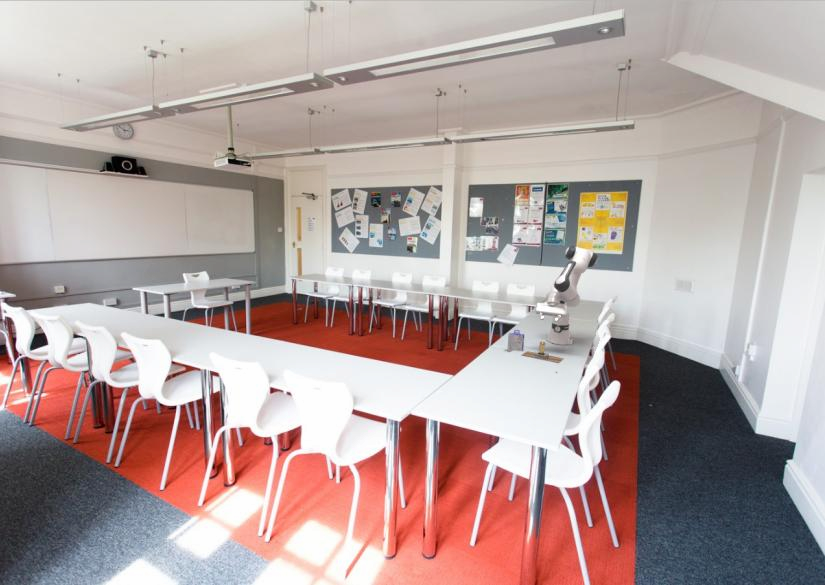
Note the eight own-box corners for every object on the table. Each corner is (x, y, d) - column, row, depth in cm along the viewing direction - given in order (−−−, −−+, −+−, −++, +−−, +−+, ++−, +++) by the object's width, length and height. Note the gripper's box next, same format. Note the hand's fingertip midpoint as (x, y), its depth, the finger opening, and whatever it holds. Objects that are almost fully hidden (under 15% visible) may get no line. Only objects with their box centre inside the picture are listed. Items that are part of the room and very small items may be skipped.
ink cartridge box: (523, 351, 273) (525, 330, 271) (521, 353, 268) (523, 332, 266) (509, 349, 277) (510, 328, 275) (507, 351, 272) (508, 330, 270)
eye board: (527, 353, 269) (527, 347, 268) (564, 360, 255) (564, 354, 254) (520, 357, 259) (521, 351, 258) (558, 365, 245) (559, 359, 244)
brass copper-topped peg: (539, 356, 257) (540, 341, 256) (544, 357, 255) (545, 342, 254) (538, 357, 255) (539, 342, 253) (542, 358, 253) (544, 343, 251)
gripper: (537, 298, 272) (532, 315, 265) (569, 302, 261) (564, 319, 254) (538, 304, 276) (533, 320, 269) (569, 308, 266) (565, 325, 259)
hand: (549, 320), depth 262 cm, fingers open, 8 cm apart
